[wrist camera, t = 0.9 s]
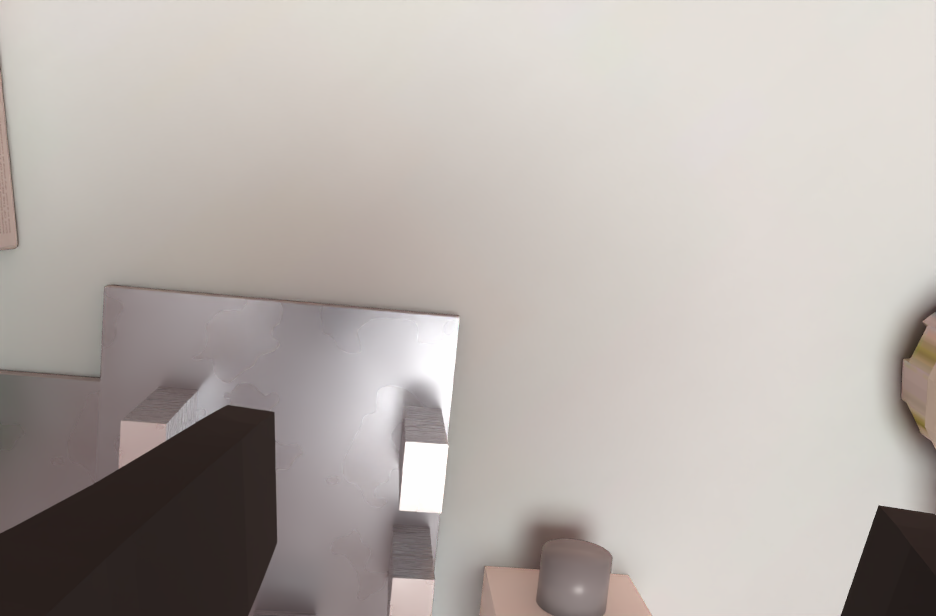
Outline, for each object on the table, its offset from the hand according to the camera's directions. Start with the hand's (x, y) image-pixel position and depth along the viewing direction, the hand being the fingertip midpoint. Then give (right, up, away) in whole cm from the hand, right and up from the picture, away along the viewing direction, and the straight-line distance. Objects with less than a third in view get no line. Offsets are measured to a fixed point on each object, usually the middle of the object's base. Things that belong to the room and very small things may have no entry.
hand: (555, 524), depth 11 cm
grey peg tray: (-10, -3, +18) cm, 21 cm away
